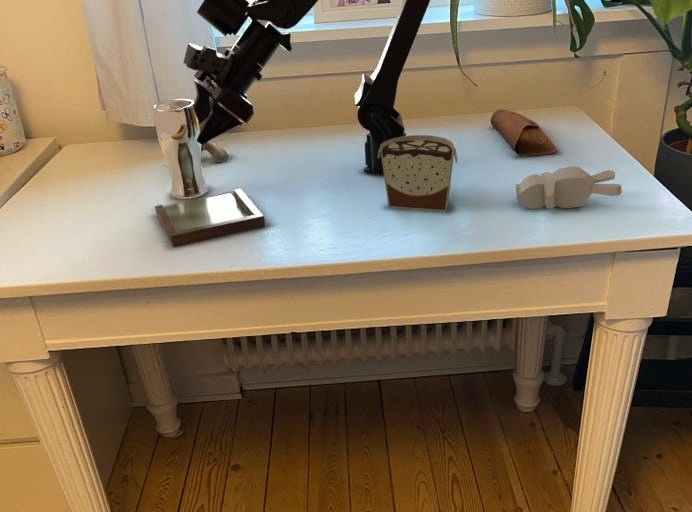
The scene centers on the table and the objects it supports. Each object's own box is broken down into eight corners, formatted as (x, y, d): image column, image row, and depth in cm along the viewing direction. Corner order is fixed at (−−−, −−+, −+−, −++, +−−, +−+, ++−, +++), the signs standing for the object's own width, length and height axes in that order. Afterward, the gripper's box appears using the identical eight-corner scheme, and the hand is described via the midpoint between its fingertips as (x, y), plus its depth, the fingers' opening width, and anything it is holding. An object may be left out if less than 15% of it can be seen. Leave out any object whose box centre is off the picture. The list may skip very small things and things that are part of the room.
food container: (464, 197, 121) (465, 135, 115) (455, 212, 116) (456, 148, 110) (390, 192, 124) (388, 132, 119) (379, 207, 120) (376, 145, 114)
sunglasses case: (561, 150, 134) (545, 120, 131) (526, 173, 136) (509, 143, 133) (531, 121, 149) (516, 93, 146) (500, 142, 151) (484, 115, 148)
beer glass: (201, 200, 127) (185, 110, 118) (163, 200, 128) (144, 110, 120) (216, 185, 132) (201, 98, 124) (179, 184, 134) (162, 98, 125)
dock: (153, 210, 124) (151, 199, 123) (237, 192, 129) (235, 182, 128) (173, 247, 112) (170, 236, 111) (265, 226, 116) (263, 215, 115)
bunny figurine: (513, 168, 119) (612, 155, 116) (515, 198, 122) (612, 186, 119) (517, 190, 111) (624, 177, 108) (519, 222, 114) (623, 210, 111)
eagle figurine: (170, 157, 143) (203, 155, 138) (174, 120, 143) (207, 116, 137) (200, 168, 149) (232, 166, 144) (204, 132, 149) (237, 128, 144)
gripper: (197, 14, 125) (144, 92, 128) (221, 32, 110) (161, 120, 113) (249, 57, 131) (198, 131, 134) (279, 80, 117) (220, 162, 120)
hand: (193, 135), depth 125 cm, fingers open, 9 cm apart
